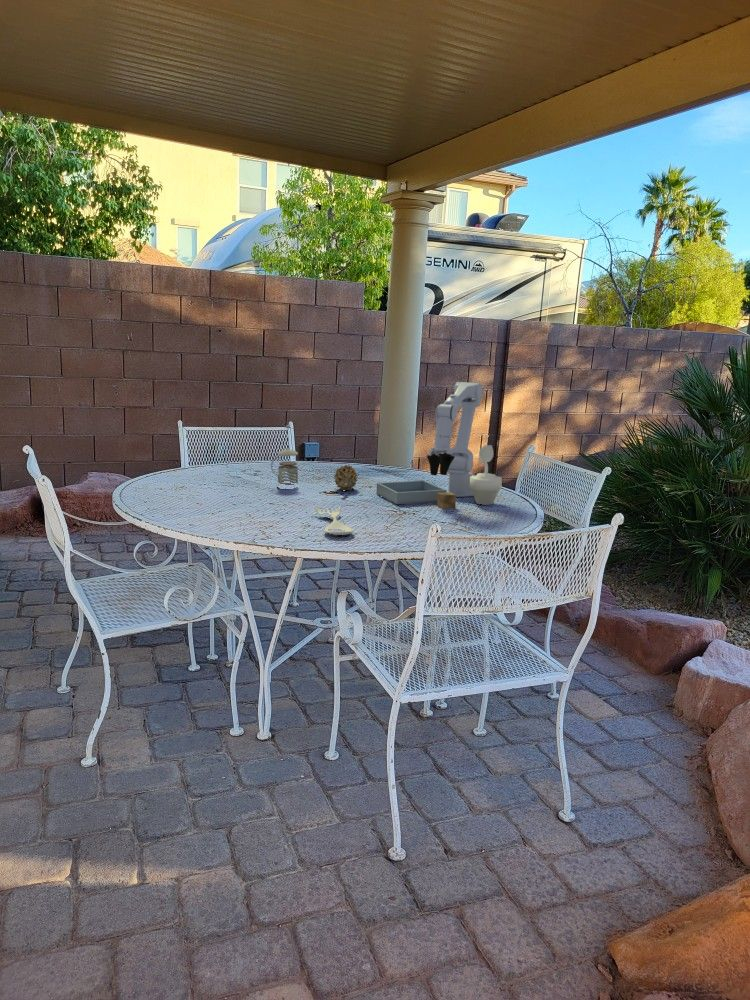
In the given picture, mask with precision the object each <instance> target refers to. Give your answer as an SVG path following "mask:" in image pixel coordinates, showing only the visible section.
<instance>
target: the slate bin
mask: <svg viewBox="0 0 750 1000" xmlns="http://www.w3.org/2000/svg"><path fill="white" fill-rule="evenodd" d="M444 492H448V491H447V489H445V488H443V487H440V486H438V485H436V484H434V483H431V482H429V481H426V480H409V481H408V480H406V481H388V482H376V495H377V494H378V495H377V496H379V495H380V496H379V497H381V496H382V497H384V498H386V499H387V500H386V499H385V500H386V501H388V500H389V501H388V502H390V501H391V502H390V503H392V502H393V503H395V504H406V505H416V504H415V503H421V504H434V502H437V493H444ZM382 497H381V498H382ZM384 498H383V499H384ZM393 503H392V504H393ZM395 504H394V505H395Z"/></svg>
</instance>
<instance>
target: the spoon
mask: <svg viewBox="0 0 750 1000" xmlns="http://www.w3.org/2000/svg"><path fill="white" fill-rule="evenodd" d="M334 509H335V510H334ZM334 509H333V508H331V511H330V509H329V508H327V510H326V511H325V509H324V508H322V509H321V508H317V507H316V506H315V507H314V510H315V512H316V514H318V515H319V514H323V513H329V514H330V515H329V516H327V517H329V518H330V520H333V521H332V522H330V523H329V524H328V525H326V527H324V530H323V531H324V532H325V533H326V534H328V533H329V534H328V535H331V534H333V535H332V536H337V535H342V536H347V535H349V534H352V533H353V532H354V531H355V530H354V529H353V528H352V527H350V526H348V525H346V524H344V523H342V522H341V521H339V518H340V517H339V516H340V514H341V511H342V509H341V506H340V505H339V506H338V509H337V508H336V507H335V508H334ZM338 515H339V516H338ZM328 529H341V530H345V532H330V531H328Z"/></svg>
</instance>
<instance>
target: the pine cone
mask: <svg viewBox="0 0 750 1000" xmlns="http://www.w3.org/2000/svg"><path fill="white" fill-rule="evenodd" d="M333 474H334V473H333ZM333 476H334V477H333V479H334V481H333V482H334V483H335V485H336V487H337V488H340V490H341V491H342V490H346V491H347V490H348V489H349V491H351V490H353V489H354V488H355V487H356V485H357V482H358V477H357V476H358V473H357V470H356V468H355V467H353V466H352V465H350V464H345V465H341V466H339V468H338V467H336V470H335V474H334V475H333Z"/></svg>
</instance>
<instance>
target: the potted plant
mask: <svg viewBox="0 0 750 1000" xmlns="http://www.w3.org/2000/svg"><path fill="white" fill-rule="evenodd" d="M496 445H497V446H498V445H499V441H497V443H496ZM503 452H504V450H503V448H502V450H501V453H503ZM493 458H494V448H493V445H492V444H489V445H484V446H482V447H480V449H479V451H478V461H479V462H480V463H482V464H484V472H482V473H481V472H479V473H477V474H473V476H471V477H470V488H471V489H472V490H473V494H474V496H473V497H474V501H475V503H476V504H478V505H480V504H482V505H481V506H491V505H493V504H494V503H495V501H496V498H497V496H498V494H499V492H500V490H502V487H503V486H502V483H503V479H502V477H501V476H497V475H496V474H494V473H489V465H488V463H490V462H491V461H492V460H493ZM490 504H491V505H490Z"/></svg>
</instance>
